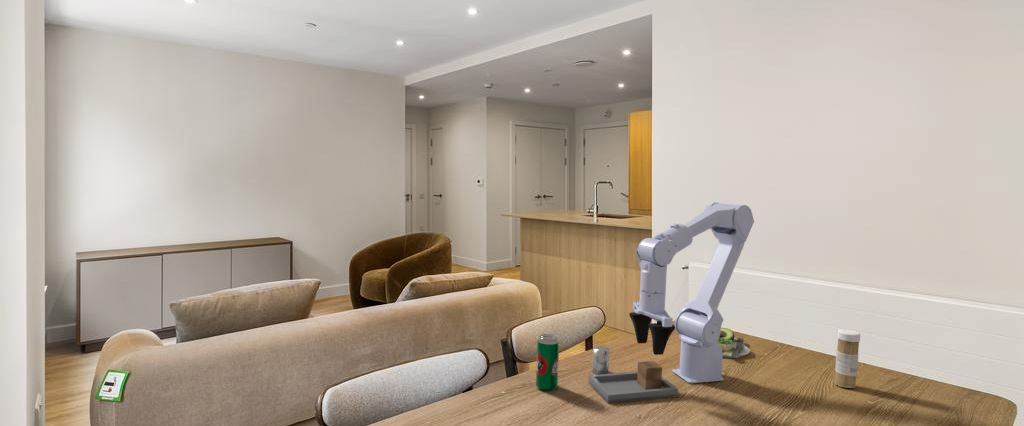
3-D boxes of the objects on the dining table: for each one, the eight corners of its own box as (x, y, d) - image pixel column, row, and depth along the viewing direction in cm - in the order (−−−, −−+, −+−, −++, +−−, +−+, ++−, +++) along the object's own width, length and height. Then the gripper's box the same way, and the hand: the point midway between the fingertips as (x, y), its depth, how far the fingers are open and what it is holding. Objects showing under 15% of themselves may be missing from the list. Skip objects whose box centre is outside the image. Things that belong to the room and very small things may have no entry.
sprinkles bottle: (847, 382, 128) (852, 328, 127) (860, 390, 124) (865, 334, 123) (829, 381, 128) (833, 328, 127) (841, 389, 124) (846, 334, 122)
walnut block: (652, 381, 124) (653, 360, 124) (661, 388, 120) (662, 367, 120) (637, 382, 123) (638, 362, 123) (645, 389, 120) (646, 368, 119)
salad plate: (766, 364, 140) (767, 347, 139) (698, 362, 140) (699, 345, 140) (738, 340, 159) (739, 326, 158) (678, 338, 160) (679, 323, 159)
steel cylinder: (604, 368, 133) (605, 345, 133) (611, 374, 129) (612, 351, 129) (589, 369, 132) (590, 346, 132) (596, 376, 128) (597, 352, 128)
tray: (653, 377, 128) (653, 370, 128) (677, 396, 118) (678, 388, 118) (588, 382, 124) (588, 375, 124) (607, 403, 114) (608, 395, 113)
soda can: (556, 392, 118) (558, 341, 117) (534, 390, 119) (535, 339, 118) (558, 384, 123) (560, 334, 122) (537, 381, 124) (539, 332, 123)
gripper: (622, 284, 126) (620, 339, 127) (653, 299, 112) (650, 360, 113) (648, 283, 128) (646, 337, 129) (682, 298, 114) (679, 358, 115)
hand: (649, 348), depth 121 cm, fingers open, 7 cm apart
